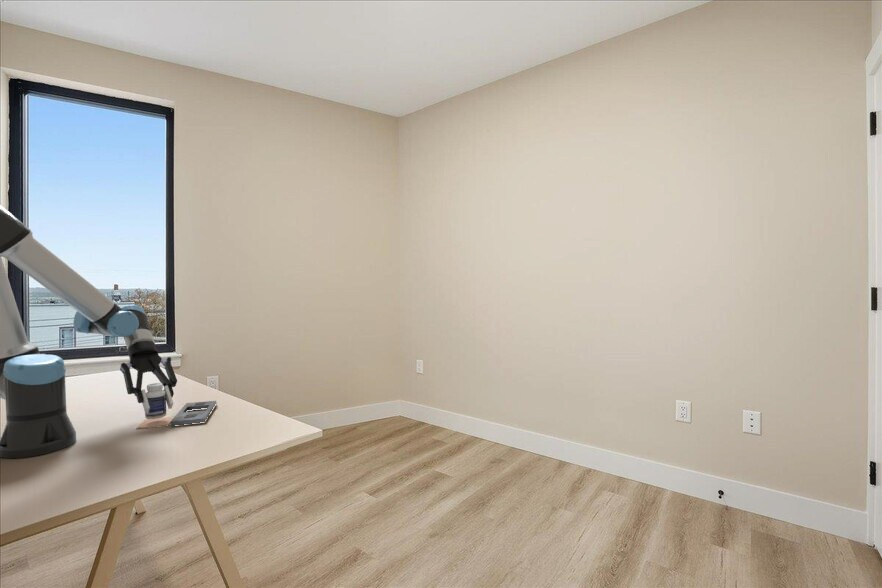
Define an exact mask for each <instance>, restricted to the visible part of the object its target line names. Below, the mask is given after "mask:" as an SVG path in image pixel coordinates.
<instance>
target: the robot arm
mask: <svg viewBox="0 0 882 588" xmlns="http://www.w3.org/2000/svg"><path fill="white" fill-rule="evenodd" d="M3 258H5V259H6V260H7V261H8V262H10V263H11V264H13V265H14V266H15V267H17V268H18V269H20V270H21V271H22V272H23V273H25V274H26V275H27V276H29V277H30V278H31V279H34V281H36V282H37V283H39V284H40V285H41V286H42V287H44V288H45V289H47V290H48V291H49V292H51V293H52V294H53V295H55V296H56V297H58V298H59V299H60V300H62V301H63V302H64V303H66V304H67V305H69V306H70V307H71V308H72V309H73V310H75V311H76V312H75V315H74V318H73V329H74V330H75V332H76V333H80V334H82V333H83V334H96V335H103V336H111V337H115V338H123V339H124V342H125V346H126V350H127V353H128V359H129V362H126V363H125V362H122V363H121V364H120V368H119V371H120V372H121V373H122V374H123V378H124V379H123V380H124V383H125V387H126V393H127V394H128V395H132V394H133V395H134V397H136V400H137V403H138V404H142V406H143V412H144V414H146V413H148V412H149V409H150V406H149V403H148V399H147V396H146V393H147V392H146V390H145V389H142V386H143V377H144V374H145V373H152V374H153V375H155V377H156V378H157V379H158V381H159V383H162V384H163V389H162V390H163V391H165V393H166V406H167V407H168V410H169V409H172V408H173V406H174V401H173V397H174V395H175V392H174V389H173V388H175V387H176V386H177V383H178V379H177V377H176V374H175V370H174V369H173V366H172V358H171V357H170V356H168V357H167V358H163V357H161V356H160V355H159V352H158V349H157V346H156V343H155V339H154V337H153V332H152V329H151V326H150V322H149V319H148V315H147V314H146V312H145V310H144V308H143V307H142V306H140V305H137V304H131V305H124V306H122V307H120V306H119V305H118V304H116V303H115V302H114V301H113V300H111V299H110V298H109V297H108V296H107V295H105V294H104V293H103V292H101V291H100V290H99V289H98V288H96V287H95V286H94V285H93V284H92V283H91V282H89V281H88V280H87V279H86V278H84V277H83V276H81V274H79V273H78V272H77V271H75V270H74V269H73V268H72V267H70V266H69V265H68V264H67V263H66V262H64V261H63V260H62V259H60V258H59V257H58V256H57V255H56V254H54V253H53V252H52V251H51V250H49V249H48V248H47V247H46V246H44V244H42V243H41V242H39V241H38V240H37V239H36V238H35V237H34V236H33V230H31V229H30V228H29V227H28V226H26V225H25V224H24V223H23V222H22V221H21V220H20V219H19V218H17V217H16V216H15V215H13V213H12V212H10V211H9V210H7V209H6V208H5V207H4V206H2V205H1V204H0V399H3V400H5V415H6V416H5V417H6V423H5V426H4V429H3V432H2V435H1V438H0V456H1V457H0V458H2V457H4V458H3V459H21V458H22V459H23V458H29V457H30V458H31V457H35V456H41V455H45V454H49V453H54V452H57V451H60V450H62V449H64V448H68V447H69V446H71V445H73V444H75V443H76V442H77V431H76V429H75V427H74V425H73V424H72V421H71V419H70V417H69V415H68V412H67V392H66V391H67V389H66V371H67V370H66V365H65V361H64V359H63V358H62V357H60V356H58V355H55V354H46V353H40V351H39V347H38V345H37V344H36V343H33V342H30V341H29V340H28V337H27V333H26V331H25V327H24V324H23V321H22V317H21V314H20V311H19V308H18V305H17V302H16V299H15V295H14V293H13V290H12V286H11V283H10V279H9V278H8V277H9V276H8V275H7V274H8V273H7V270H6V268H5V264H4V261H3ZM160 364H162V366H163V367H164V369H165V372H163V370H162V369H161V367H160ZM131 368H132V369H133V370H135V371H137V375H136V382H135V386H134V383H133V378H132V375H131ZM165 373H166V374H165Z"/></svg>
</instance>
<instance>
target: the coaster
mask: <svg viewBox="0 0 882 588" xmlns="http://www.w3.org/2000/svg"><path fill="white" fill-rule="evenodd" d="M174 417H175V416H171V417H170V416H169V417H167V416H165V417H162V418H158V419H146V418H145V419H144V420H143V421H142V422H141V423H140V424H139V425H138V426H136V428H135V429H136V430H140V429H139V428H143V429H150V428H149V427H154V428H159V427H158V426H164V427H168V426H169V425H170V424H169V423H170V421H171V420H172V419H173V418H174ZM168 424H169V425H168ZM167 425H168V426H167Z"/></svg>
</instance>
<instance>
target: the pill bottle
mask: <svg viewBox="0 0 882 588" xmlns="http://www.w3.org/2000/svg"><path fill="white" fill-rule="evenodd" d="M163 390H164V386H163V384H162V383H161V382H155V383H149V384H147V385H146V391H147V392H146V396H147V399H148V403H149V406H150V409H149V412H148V413H146V414H145V413H144V414H145V415H144V417H145V419H158V418H165V417H167V402H166V393H165V391H163Z"/></svg>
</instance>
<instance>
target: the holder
mask: <svg viewBox="0 0 882 588" xmlns="http://www.w3.org/2000/svg"><path fill="white" fill-rule="evenodd" d="M215 404H216V405H217V400H209V401H208V400H207V401H196V402H186V403H185V405H184V406H183V407H181V409H180V410H179V411H178V412H177V413H176V414H175V416H173V417H174V418H173V419H172V420H171V421H170V424H169V425H170V427H171V426H175V425H184V424H192V423H200V422H205V420H206V419H207V417H208V416H209V414H210V412H211V411H212V409H213V407H214V406H215ZM201 408H207V409H206V410H200V411H188V412H186V411H187V410H192V409H201ZM209 417H210V416H209ZM207 420H208V419H207ZM205 423H206V422H205ZM175 427H176V426H175Z"/></svg>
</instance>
